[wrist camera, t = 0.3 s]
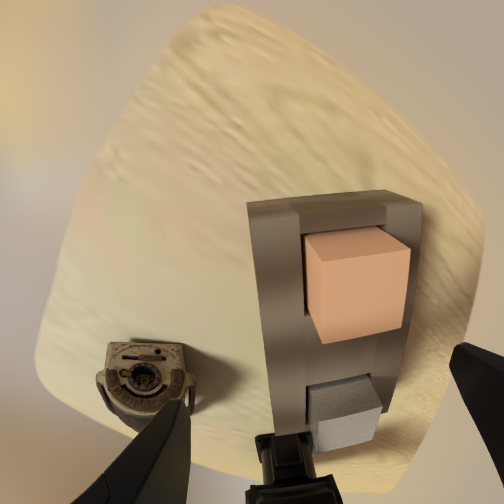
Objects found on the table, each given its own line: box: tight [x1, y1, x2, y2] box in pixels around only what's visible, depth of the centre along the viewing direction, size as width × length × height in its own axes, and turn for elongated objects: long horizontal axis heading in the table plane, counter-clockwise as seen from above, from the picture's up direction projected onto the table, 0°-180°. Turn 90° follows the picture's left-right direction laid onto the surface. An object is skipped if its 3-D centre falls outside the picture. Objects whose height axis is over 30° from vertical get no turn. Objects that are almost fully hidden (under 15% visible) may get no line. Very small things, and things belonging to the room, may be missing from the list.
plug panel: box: [247, 190, 422, 436], centre depth 20 cm, size 18×10×5 cm, turn 7°
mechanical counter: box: [96, 342, 196, 433], centre depth 21 cm, size 7×13×10 cm
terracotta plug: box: [300, 225, 411, 344], centre depth 15 cm, size 4×4×5 cm
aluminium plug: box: [306, 374, 383, 453], centre depth 19 cm, size 4×4×5 cm
